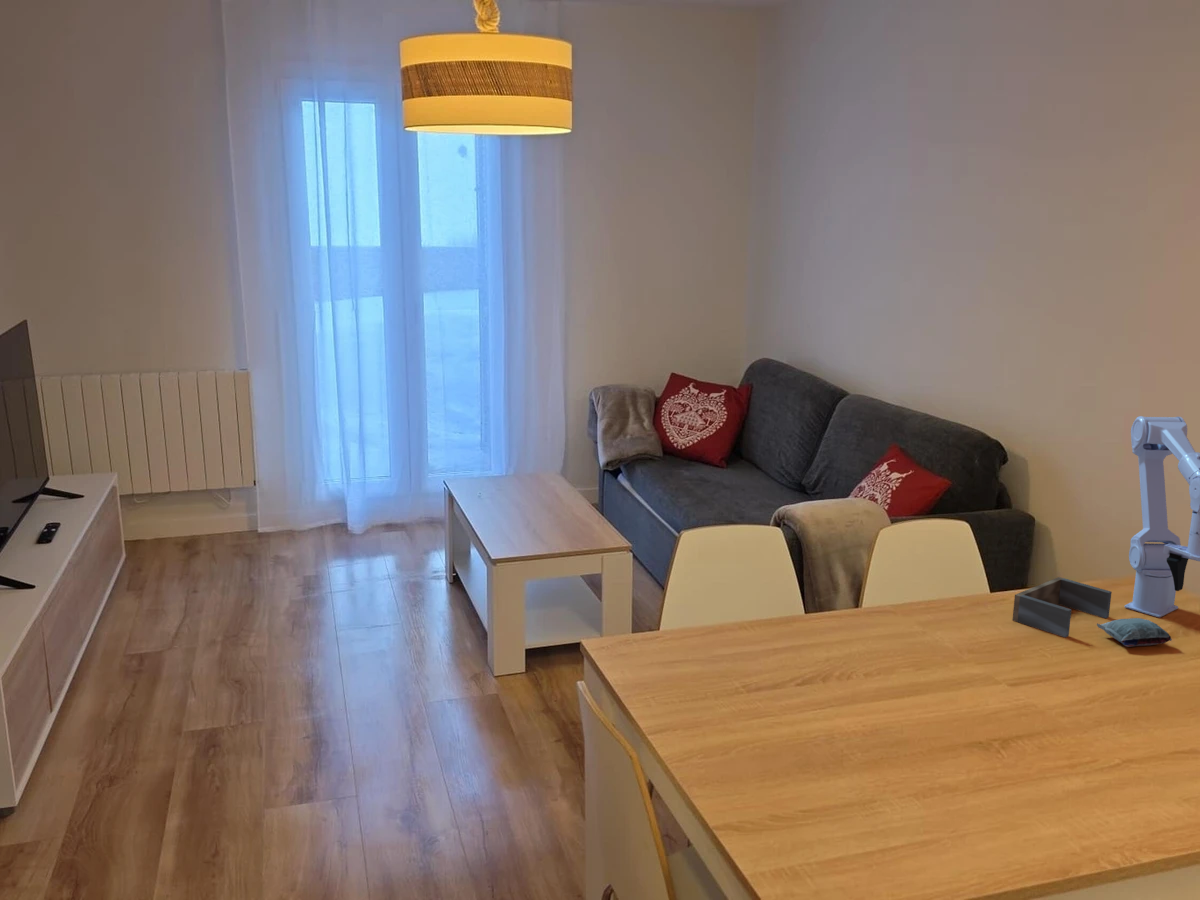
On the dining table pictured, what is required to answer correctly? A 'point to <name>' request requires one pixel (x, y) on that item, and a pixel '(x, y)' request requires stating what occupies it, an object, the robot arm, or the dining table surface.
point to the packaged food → (1135, 632)
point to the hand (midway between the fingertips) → (1197, 594)
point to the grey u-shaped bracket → (1043, 601)
